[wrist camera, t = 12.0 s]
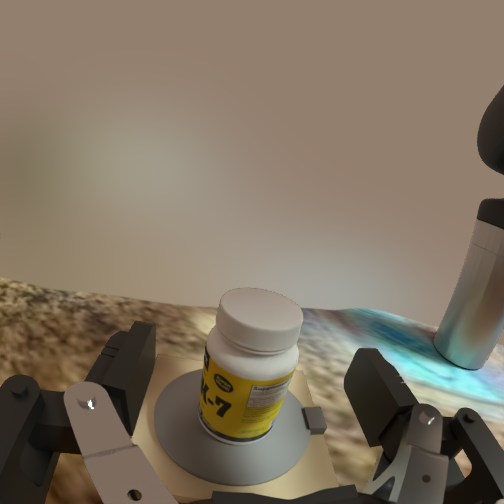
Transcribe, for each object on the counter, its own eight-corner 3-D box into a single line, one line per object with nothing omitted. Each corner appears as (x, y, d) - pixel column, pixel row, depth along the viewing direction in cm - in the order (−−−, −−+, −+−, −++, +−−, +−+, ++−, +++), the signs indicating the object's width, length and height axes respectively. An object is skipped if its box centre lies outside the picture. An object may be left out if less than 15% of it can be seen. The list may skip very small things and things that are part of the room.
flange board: (299, 380, 23) (305, 363, 22) (333, 501, 11) (346, 488, 11) (157, 364, 21) (157, 346, 21) (123, 490, 10) (117, 477, 9)
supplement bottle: (187, 398, 16) (198, 284, 14) (251, 386, 19) (277, 281, 16) (215, 456, 12) (238, 341, 10) (286, 434, 15) (332, 325, 12)
